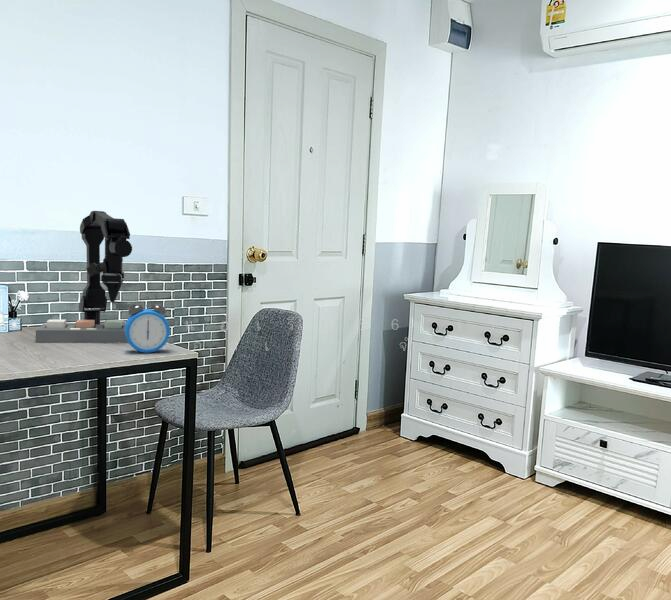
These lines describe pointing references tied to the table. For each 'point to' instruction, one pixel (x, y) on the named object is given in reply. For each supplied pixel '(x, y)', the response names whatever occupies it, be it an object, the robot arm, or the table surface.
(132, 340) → the alarm clock
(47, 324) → the cream key
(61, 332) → the console
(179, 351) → the table surface
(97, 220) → the robot arm
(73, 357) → the table surface
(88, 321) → the terracotta key
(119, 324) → the sage key
